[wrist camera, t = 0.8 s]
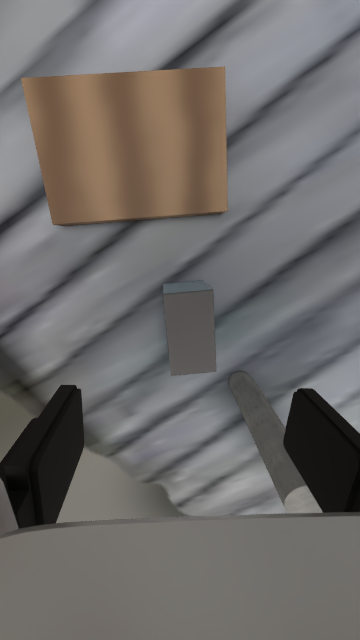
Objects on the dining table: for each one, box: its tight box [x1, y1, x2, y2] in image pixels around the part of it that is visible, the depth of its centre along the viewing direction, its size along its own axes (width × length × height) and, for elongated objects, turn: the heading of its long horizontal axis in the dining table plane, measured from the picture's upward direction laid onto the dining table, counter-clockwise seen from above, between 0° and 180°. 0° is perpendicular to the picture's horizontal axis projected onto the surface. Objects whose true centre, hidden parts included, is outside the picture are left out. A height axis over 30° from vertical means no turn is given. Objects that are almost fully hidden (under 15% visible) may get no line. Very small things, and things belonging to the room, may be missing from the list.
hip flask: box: [229, 371, 323, 514], centre depth 28 cm, size 16×4×20 cm, turn 28°
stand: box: [21, 67, 228, 226], centre depth 26 cm, size 18×12×3 cm, turn 94°
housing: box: [163, 280, 216, 376], centre depth 30 cm, size 5×9×7 cm, turn 5°
